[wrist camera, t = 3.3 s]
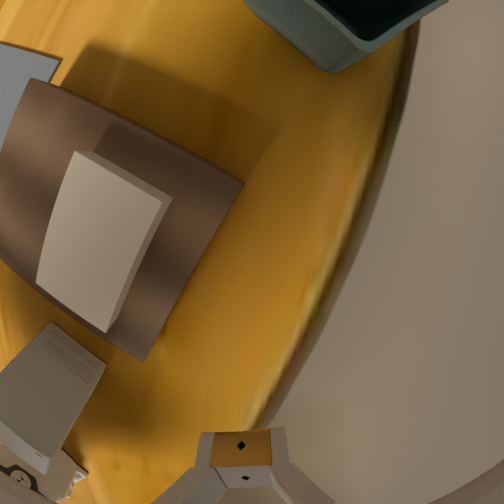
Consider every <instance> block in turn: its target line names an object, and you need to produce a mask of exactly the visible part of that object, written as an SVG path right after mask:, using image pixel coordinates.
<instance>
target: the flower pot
mask: <svg viewBox="0 0 504 504" xmlns="http://www.w3.org/2000/svg"><path fill="white" fill-rule="evenodd" d="M243 1H244V2H245V4H246V5H247V6H248V7H249V9H250V10H251V11H252V12H253V13H254V14H255V15H256V16H258V17H259V18H260V19H261V20H262V21H264V22H265V23H266V24H268V25H269V26H270V27H272V28H273V29H274V30H276V31H277V32H278V33H279V34H281V35H282V36H283V37H284V38H285V39H287V40H288V41H289V42H290V43H292V44H293V45H294V46H295V47H296V48H297V49H299V50H300V51H301V52H302V53H303V54H304V55H305V56H306V57H308V58H309V59H310V60H311V61H312V62H313V63H314V64H315V65H316V66H317V67H318V68H320V69H321V70H323V71H325V72H328V73H336V72H340V71H342V70H344V69H346V68H348V67H349V66H351V65H352V64H354V63H356V62H357V61H359V60H361V59H362V58H364V57H366V56H367V55H369V54H370V53H372V52H374V51H376V50H377V49H379V48H380V47H381V46H382V45H384V44H385V43H386V42H388V41H389V40H390V39H392V38H393V37H394V36H396V35H397V34H398V33H400V32H401V31H403V30H404V29H405V28H407V27H408V26H410V25H411V24H413V23H414V22H416V21H417V20H419V19H420V18H422V17H423V16H425V15H427V14H428V13H430V12H432V11H433V10H435V9H437V8H438V7H440V6H442V5H444V4H445V3H447V2H448V1H449V0H243Z"/></svg>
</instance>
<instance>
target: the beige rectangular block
mask: <svg viewBox="0 0 504 504" xmlns="http://www.w3.org/2000/svg"><path fill="white" fill-rule="evenodd" d="M172 199H173V198H172V197H171V196H169V195H167V194H166V193H164V192H162V191H160V190H159V189H157V188H155V187H153V186H152V185H150V184H148V183H147V182H145V181H143V180H141V179H140V178H138V177H136V176H134V175H133V174H131V173H129V172H127V171H126V170H124V169H122V168H121V167H119V166H117V165H115V164H114V163H112V162H110V161H108V160H107V159H105V158H103V157H101V156H100V155H98V154H96V153H94V152H92V151H74V154H73V156H72V158H71V161H70V163H69V166H68V168H67V171H66V173H65V176H64V179H63V181H62V184H61V187H60V190H59V193H58V196H57V199H56V202H55V205H54V208H53V211H52V215H51V218H50V221H49V225H48V229H47V232H46V236H45V240H44V244H43V248H42V253H41V257H40V262H39V267H38V272H37V277H36V283H37V284H38V285H39V286H40V287H42V288H43V289H44V290H45V291H47V292H48V293H49V294H51V295H52V296H53V297H54V298H56V299H57V300H58V301H60V302H61V303H62V304H64V305H65V306H66V307H68V308H69V309H71V310H72V311H73V312H75V313H76V314H78V315H79V316H81V317H82V318H83V319H85V320H86V321H88V322H89V323H91V324H92V325H94V326H95V327H97V328H98V329H100V330H102V331H103V332H105V333H106V332H107V331H108V329H109V328H110V327H111V325H112V324H113V323H114V322H115V320H116V319H117V318H118V315H119V313H120V310H121V308H122V305H123V303H124V300H125V298H126V296H127V293H128V291H129V288H130V286H131V284H132V281H133V279H134V277H135V275H136V272H137V270H138V268H139V266H140V264H141V261H142V259H143V257H144V255H145V253H146V251H147V248H148V246H149V244H150V242H151V240H152V238H153V236H154V234H155V232H156V230H157V228H158V226H159V224H160V222H161V220H162V218H163V216H164V214H165V212H166V210H167V208H168V206H169V204H170V203H171V201H172Z"/></svg>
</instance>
